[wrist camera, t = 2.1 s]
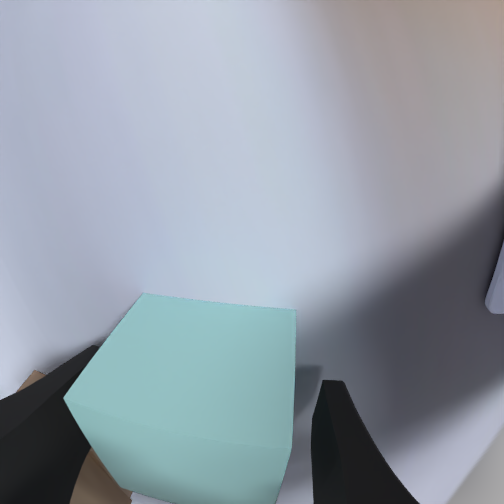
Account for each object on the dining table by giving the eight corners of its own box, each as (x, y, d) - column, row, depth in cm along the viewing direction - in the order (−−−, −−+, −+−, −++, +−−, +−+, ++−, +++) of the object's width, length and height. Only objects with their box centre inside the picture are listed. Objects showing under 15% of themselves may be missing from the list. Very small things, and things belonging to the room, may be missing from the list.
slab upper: (82, 445, 10) (49, 506, 6) (132, 500, 12) (113, 547, 9) (3, 410, 11) (-29, 452, 7) (54, 469, 13) (34, 507, 10)
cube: (296, 308, 10) (291, 448, 5) (281, 408, 11) (270, 519, 7) (144, 291, 10) (63, 397, 5) (162, 391, 12) (120, 487, 7)
